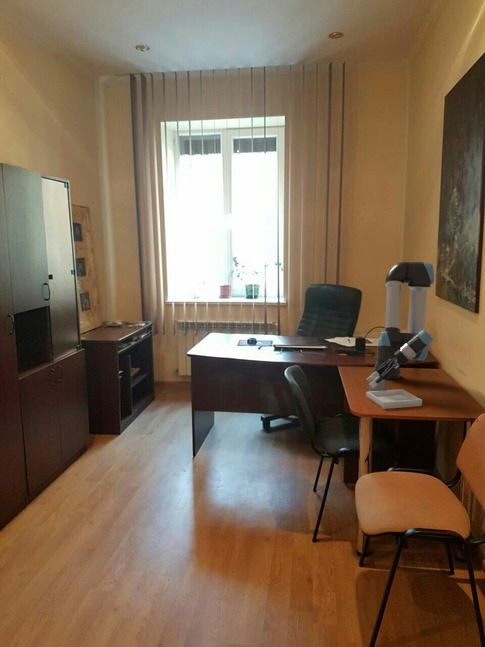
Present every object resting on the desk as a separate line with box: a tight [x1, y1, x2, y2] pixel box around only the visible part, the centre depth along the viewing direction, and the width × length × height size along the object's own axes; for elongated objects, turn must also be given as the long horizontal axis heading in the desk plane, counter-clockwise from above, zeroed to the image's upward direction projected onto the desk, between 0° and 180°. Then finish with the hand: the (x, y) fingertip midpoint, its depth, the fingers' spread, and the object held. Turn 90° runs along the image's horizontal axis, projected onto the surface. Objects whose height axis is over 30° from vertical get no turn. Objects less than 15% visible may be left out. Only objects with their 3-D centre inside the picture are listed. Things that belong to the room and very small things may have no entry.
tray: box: [365, 388, 423, 410], centre depth 221 cm, size 16×20×3 cm
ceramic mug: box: [368, 375, 387, 391], centre depth 236 cm, size 11×8×8 cm
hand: (369, 383), depth 236 cm, fingers closed on ceramic mug, 8 cm apart
